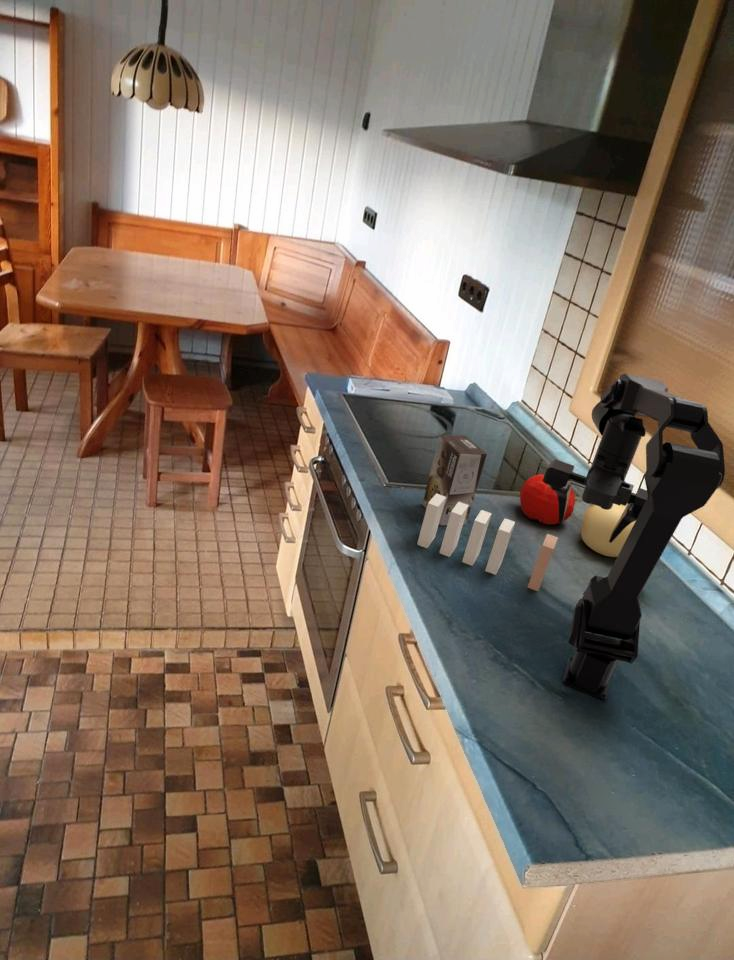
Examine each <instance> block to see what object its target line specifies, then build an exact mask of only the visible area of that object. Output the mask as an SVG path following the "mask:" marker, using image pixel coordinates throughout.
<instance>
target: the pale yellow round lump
mask: <svg viewBox="0 0 734 960" xmlns="http://www.w3.org/2000/svg"><path fill="white" fill-rule="evenodd" d="M626 506H627V505H626ZM626 506H624V505H621V504H620V506H619V505H616V504H614V503H613V506H612V508H611V509H609V510H605V509H602V508H601V507H599V506H597V505H594V504H591V503H590V504H589V506H588V507H587V509H586V510H585V512H584V513H583V518H582V521H581V526H580V535H581V539H582V541H583V542H584V544H585V545H586V546H587V547H588V548H590V549H591V550H592V551H594V552H596V553H598V554H600V555H602V556H605V557H611V558H617V557H618V555H619V553H620V551H621V549H622V547H623V545H624V543H625V541H626V539H627V537H628V535H629V533H630V531H631V529H632V527H633V526H634V524H635V522H636V521H634V522H632V523H630V524H629V525H628V526H627V527H626V528H625V529H624V530H623V531H622V532H621V533H620V534H619V535H618V536H617V537H616V538H615V539H614V540H613V541H612V542H611V543H610V542H609V540H610V537H611V534H612V532H613V530H614V528H615V526H616V525H617V523H618V521H619V519H620V517H621V515H622V514H623V512H624V510H625V508H626Z"/></svg>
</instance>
